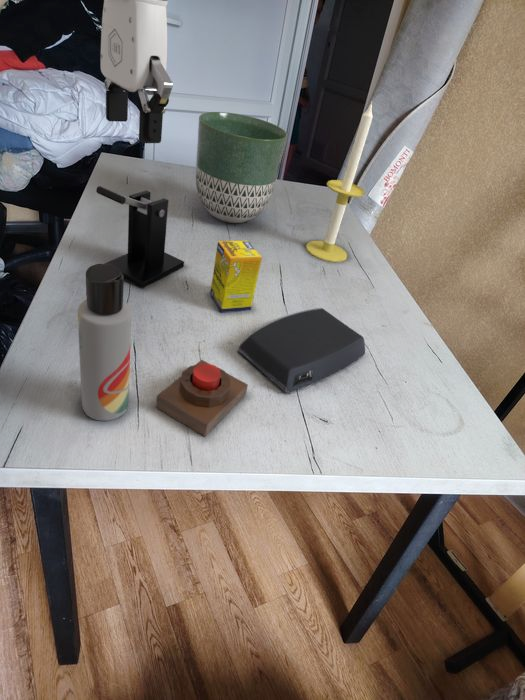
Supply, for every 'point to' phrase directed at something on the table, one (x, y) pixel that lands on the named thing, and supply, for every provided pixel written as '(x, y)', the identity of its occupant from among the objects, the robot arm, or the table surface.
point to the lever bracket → (147, 245)
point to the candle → (342, 197)
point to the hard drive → (302, 348)
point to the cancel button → (206, 377)
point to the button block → (201, 400)
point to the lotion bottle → (104, 344)
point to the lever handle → (124, 199)
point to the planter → (237, 164)
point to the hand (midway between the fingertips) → (132, 131)
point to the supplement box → (235, 275)
